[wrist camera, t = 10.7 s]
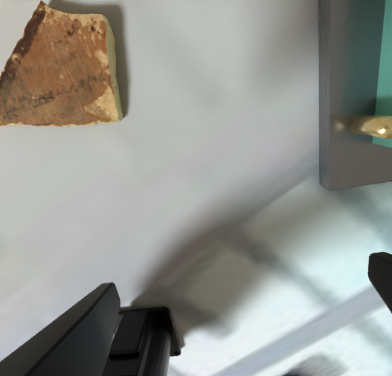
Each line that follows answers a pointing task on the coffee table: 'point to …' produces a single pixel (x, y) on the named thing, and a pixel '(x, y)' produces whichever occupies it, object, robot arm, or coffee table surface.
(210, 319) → the coffee table surface
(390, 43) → the green rectangular block
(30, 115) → the shard
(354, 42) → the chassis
